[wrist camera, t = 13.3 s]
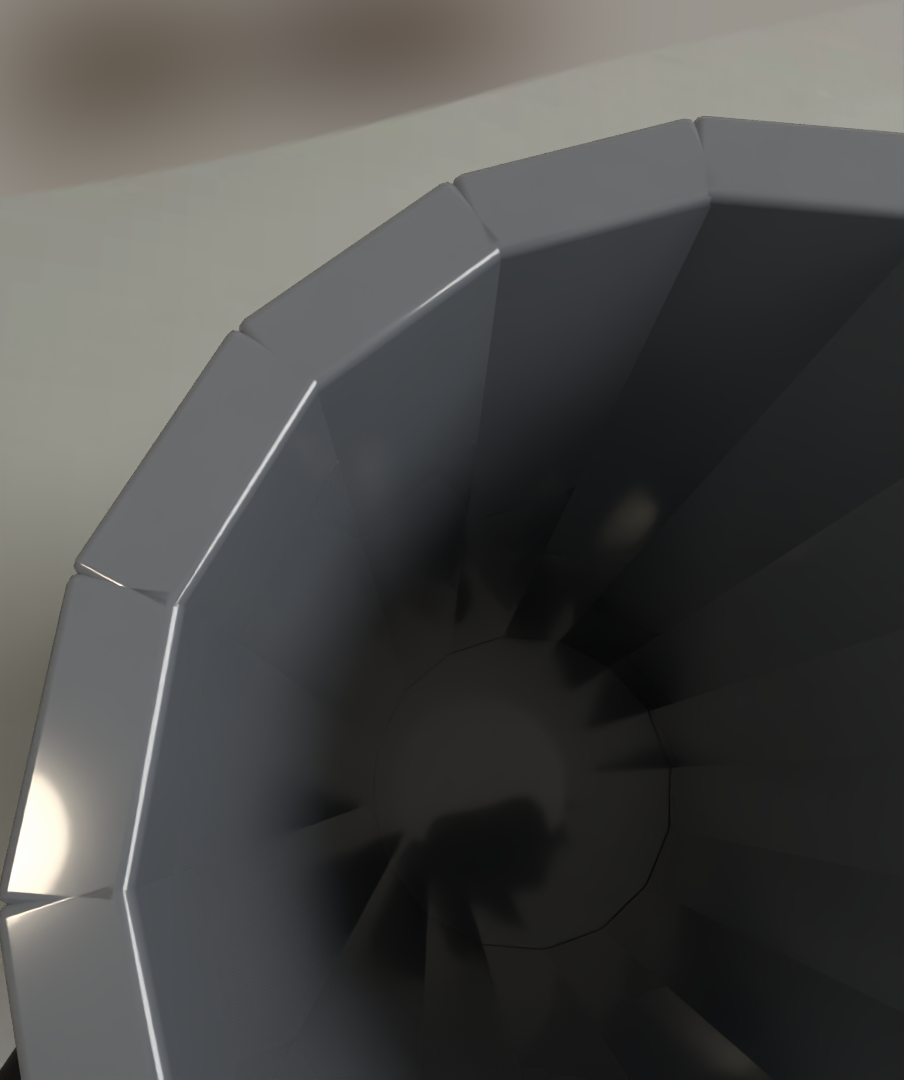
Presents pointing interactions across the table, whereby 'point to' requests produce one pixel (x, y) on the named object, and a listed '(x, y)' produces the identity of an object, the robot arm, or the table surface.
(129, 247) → the table surface
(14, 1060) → the robot arm
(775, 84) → the table surface
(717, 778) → the cup
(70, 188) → the table surface
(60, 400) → the table surface
